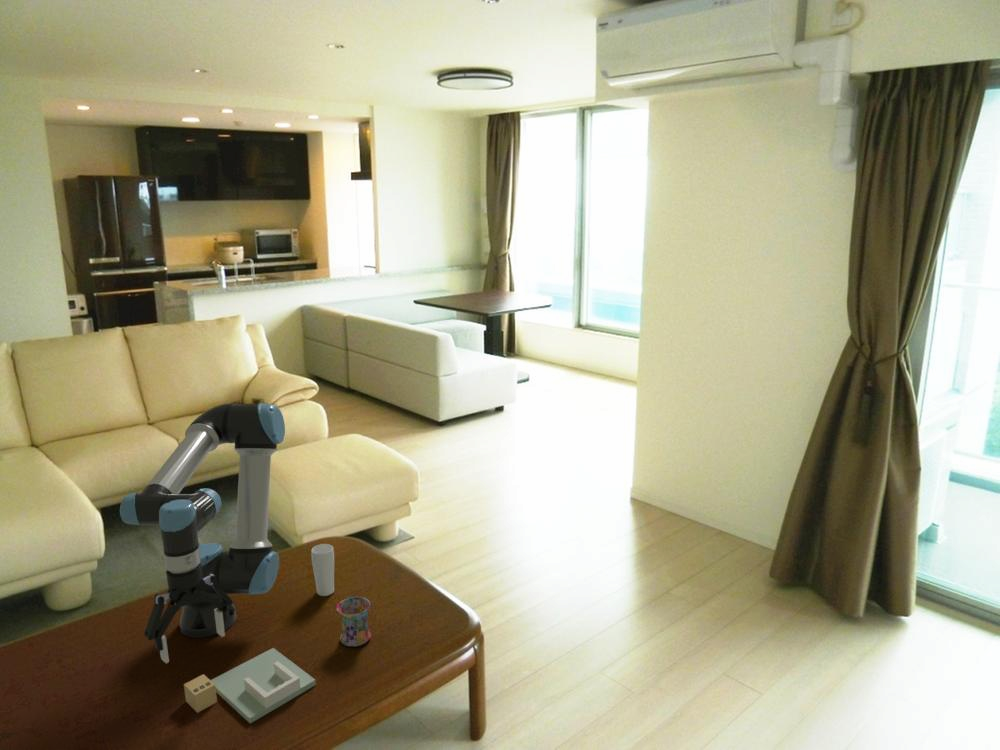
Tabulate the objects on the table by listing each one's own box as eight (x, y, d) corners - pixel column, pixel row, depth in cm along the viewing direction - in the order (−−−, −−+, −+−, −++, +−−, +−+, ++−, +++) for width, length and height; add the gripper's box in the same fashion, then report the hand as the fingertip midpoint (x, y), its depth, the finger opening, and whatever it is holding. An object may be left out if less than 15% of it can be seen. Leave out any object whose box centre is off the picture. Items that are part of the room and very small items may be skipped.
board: (209, 686, 177) (207, 670, 176) (273, 652, 190) (272, 638, 189) (250, 723, 164) (248, 707, 163) (315, 684, 177) (314, 669, 176)
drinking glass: (338, 586, 223) (335, 543, 219) (334, 597, 216) (331, 553, 213) (317, 586, 223) (313, 543, 219) (312, 598, 216) (308, 554, 212)
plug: (186, 701, 172) (183, 683, 171) (205, 691, 175) (203, 673, 174) (197, 713, 168) (194, 694, 167) (217, 702, 172) (215, 683, 170)
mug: (373, 646, 192) (371, 612, 190) (339, 652, 190) (336, 617, 187) (370, 622, 203) (368, 589, 201) (338, 627, 201) (335, 594, 199)
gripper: (134, 593, 151) (146, 679, 156) (241, 551, 169) (250, 629, 174) (120, 581, 156) (133, 665, 161) (226, 542, 174) (235, 618, 179)
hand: (193, 647), depth 168 cm, fingers open, 13 cm apart
